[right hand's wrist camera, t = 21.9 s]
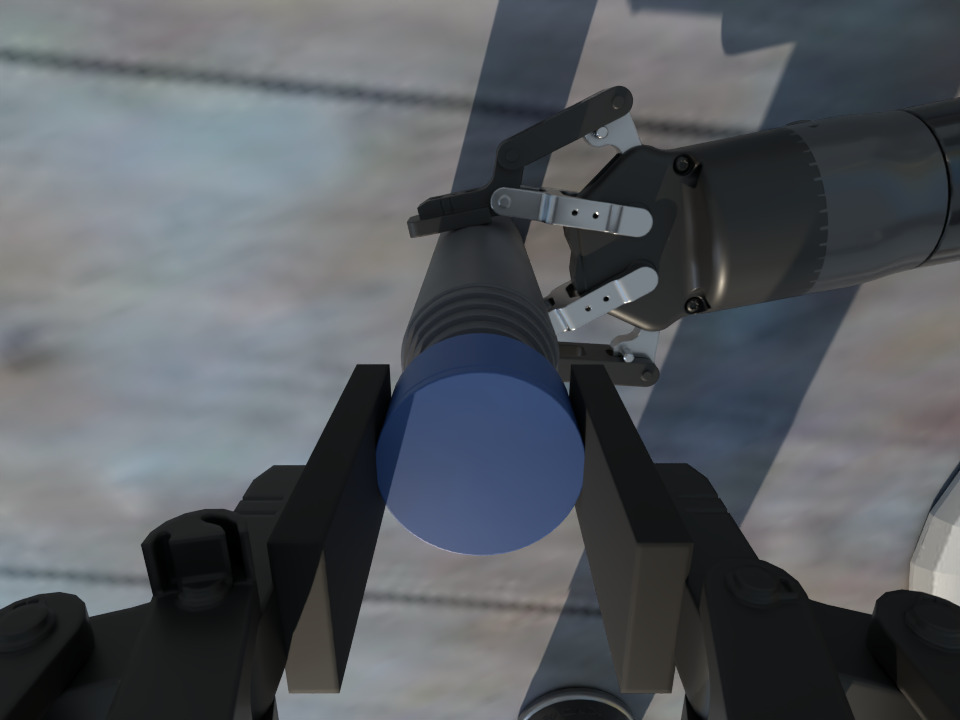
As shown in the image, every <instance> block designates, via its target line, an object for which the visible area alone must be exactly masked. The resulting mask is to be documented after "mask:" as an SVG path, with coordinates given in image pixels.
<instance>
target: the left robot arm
mask: <svg viewBox="0 0 960 720" xmlns="http://www.w3.org/2000/svg"><path fill="white" fill-rule="evenodd" d="M632 104H633V97H632V94H631V92H630V91H629V90H628V89H627V88H625V87H623V86H616V87H612V88H608V89H604V90H602V91H600V92H598V93H596V94H594V95H592V96H590V97H588V98H586V99H584V100H582V101H580V102H578V103H576V104H574V105H572V106H570V107H568V108H566V109H565V110H563V111H561V112H559V113H557V114H555V115H553V116H551V117H549V118H547V119H545V120H543V121H541V122H539V123H537V124H535V125H533V126H531V127H529V128H527V129H525V130H524V131H522V132H520V133H518V134H516V135H514V136H512V137H510V138H508V139H506V140H504V141H502V142H501V143H500V144H499V146H498V148H497V152H496V160H495V167H494V173H493V176H492V179H491V180H490V182H489V183H488V184H486V185H485V186H483V187H480V188H476V189H471V190H466V191H461V192H456V193H451V194H446V195H441V196H436V197H431V198H429V199H427V200H426V201H424V202H423V203H421V204H420V205H419V207H418V208H417V209H418V213H419V215H416V216H413V217H410V218H409V220H408V221H407V225H408V229H409V233H410V237H411V238H415V237H421V236H426V235H432V234H437V233H442V232H447V231H452V230H457V229H462V228H466V227H470V226H477V225H482V224H487V223H492V220H491V217H494V216H499V215H501V216H507V217H515V218H522V219H529V220H536V221H541V222H544V223H548V224H553V225H560V226H563V228H564V235H565V237H566V240H567V242H568V244H569V247H570V249H571V257H570V265H569V269H570V276H571V280H570V281H568V282H566V283H564V284H563V285H561V286H559V287H557V288H556V289H554V290H553V291H552V292H551V293H550V294H549V295H548V296H546V297H545V298H543V300H544V303H545V305H546V308H547V311H548V314H549V317H550V319H551V322H552V325H553V328H554V331H555V334H556V336H557V335H559V334H561V333H563V332H565V331H572V330H576V329H578V328H580V327H582V326H584V325H585V324H587V323H589V322H591V321H593V320H595V319H597V318H599V317H600V316H602V315H604V314H606V313H607V314H609V315H612V316H614V317H616V318H618V319H620V320H622V321H625V322H627V323H629V324H631V325H633V326H636V327H635V329H634V330H633V331H632V332H631V333H629V334H627V335H620V336H617V337H615V338H614V339H613V340H612V341H611V343H610V345H606V344H589V343H573V342H558V345H559V355H560V356H559V372H558V374H559V375H560V377H561V378H562V380H563V382H570V372H571V364H603V365H604V367H605V369H606V371H607V372H608V374H609V376H610V378H611V380H612V382H613V384H614V385H623V386H640V387H648V386H651V385H653V384H655V383H656V382H657V380H658V378H659V370H658V368H657V367H656V365H655V363H654V360H655V354H656V349H657V343H658V338H659V332H660V330H663V329H665V328H667V327H669V326H670V325H671V324H673V323H674V322H675V321H677V320H679V319H680V318H682V317H685V316H688V315H692V314H701V313H708V312H714V311H720V310H725V309H730V308H736V307H741V306H747V305H752V304H758V303H763V302H768V301H774V300H779V299H784V298H790V297H796V296H801V295H806V294H812V293H817V292H823V291H828V290H833V289H839V288H845V287H849V286H854V285H858V284H862V283H865V282H869V281H872V280H876V279H879V278H881V277H884V276H887V275H890V274H894V273H897V272H902V271H906V270H911V269H916V268H922V267H927V266H933V265H938V264H943V263H949V262H954V261H960V97H958V98H953V99H948V100H943V101H938V102H933V103H928V104H923V105H918V106H913V107H908V108H903V109H899V110H895V111H888V112H880V113H866V114H850V115H842V116H835V117H830V118H825V119H820V120H814V121H810V120H808V121H805V120H801V121H796V122H793V123H790V124H787V125H785V126H784V127H780V128H774V129H770V130H765V131H760V132H755V133H750V134H745V135H740V136H735V137H730V138H725V139H720V140H716V141H711V142H706V143H701V144H696V145H691V146H686V147H681V148H676V149H670V150H661V149H657V148H655V147H652V146H649V145H642V143H641V141H640V138H639V135H638V133H637V130H636V127H635V125H634V122H633V119H632V116H631V114H630V110H631V108H632ZM581 137H583V139H584V141H585V142H586V143H587V144H588V145H591V146H595V147H602V146H605V145H611V146H613V147H614V148H615V149H616V150H617V152H618V153H617V154H616V155H615V156H614V157H613V158H612V159H611V161H610V162H609V163H608V164H607V165H606V166H605V167H604V168H603V169H602V170H601V171H600V172H599V173H598V174H597V175H596V176H595V177H594V178H593V179H592V180H591V181H590V182H589V183H588V185H587V186H586V187H585V188H584V189H583V190H582V191H581V192H575V191H568V190H561V189H554V188H546V187H534V186H527V185H521V180H522V174H523V169H524V166H526V165H528V164H530V163H532V162H534V161H536V160H538V159H540V158H541V157H543V156H545V155H547V154H549V153H551V152H553V151H555V150H557V149H559V148H561V147H563V146H565V145H567V144H569V143H571V142H573V141H575V140H577V139H579V138H581ZM576 291H577V292H576ZM587 306H589V307H588V308H586V307H587ZM518 720H634V717H633V715H632V713H631V711H630V710H629V708H628V707H627V706H626V705H625V704H624V703H623V702H622V701H620V700H619V699H618V698H616V697H614V696H613V695H610V694H608V693H606V692H603V691H600V690H596V689H590V688H566V689H561V690H557V691H553V692H550V693H548V694H545V695H543V696H541V697H539V698H538V699H536V700H534V701H533V702H532V703H530V704H529V705H528V706H527V707H526V708H525V709H524V710H523V712H522V713H521V714H520V716H519V718H518Z"/></svg>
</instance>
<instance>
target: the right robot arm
mask: <svg viewBox="0 0 960 720" xmlns="http://www.w3.org/2000/svg"><path fill="white" fill-rule="evenodd" d="M569 399H570V402H571V405H572V408H573V411H574V414H575V417H576V420H577V423H578V426H579V430H580V433H581V436H582V439H583V443H584V446H585V458H584V472H583V486H582V490H581V493H580V495H579V497H578V499H577V501H576V503H575V508H576V512H577V516H578V520H579V525H580V529H581V533H582V537H583V541H584V545H585V549H586V553H587V557H588V561H589V565H590V569H591V573H592V577H593V581H594V586H595V590H596V594H597V598H598V602H599V606H600V610H601V614H602V618H603V622H604V626H605V630H606V634H607V638H608V642H609V647H610V651H611V655H612V659H613V663H614V667H615V671H616V675H617V679H618V683H619V687H620V691H621V693H672V686H673V679H674V673H675V666H676V667H677V670H678V673H679V676H680V678H681V681H682V684H683V687H684V689H685V698H684V705H683V711H682V717H681V720H960V606H958V605H956V604H954V603H952V602H950V601H948V600H947V599H944V598H941V597H938V596H934V595H931V594H928V593H925V592H920V591H911V590H902V589H901V590H896V591H891V592H885V593H884V594H883V595H882V596H881V597H880V598H879V599H877V600H876V604H875V607H874V611H873V614H872V615H871V614H866V613H862V612H858V611H853V610H849V609H844V608H840V607H835V606H831V605H827V604H823V603H820V602H816V601H813V600H810V599H809V598H808V596H807V594H806V592H805V591H804V589H803V588H802V586H801V585H800V583H799V582H798V581H797V580H796V579H794V578H793V577H792V576H791V575H789V574H788V573H787V572H786V571H784V570H783V569H781V568H779V567H777V566H774V565H772V564H770V563H768V562H766V561H763V560H759V559H758V557H757V556H756V554H755V552H754V551H753V549H752V548H751V546H750V545H749V543H748V541H747V540H746V538H745V537H744V535H743V534H742V532H741V530H740V529H739V527H738V526H737V524H736V523H735V521H734V519H733V518H732V516H731V515H730V513H727V508H726V507H725V505H724V504H723V502H722V501H721V499H720V498H718V494H717V493H716V491H715V490H714V488H713V486H712V485H711V483H710V482H709V480H708V479H707V478H706V477H705V476H704V475H702V474H701V473H700V472H698V471H697V470H695V469H694V468H693V467H691V466H690V465H688V464H687V463H653V461H652V459H651V457H650V455H649V453H648V451H647V449H646V447H645V446H644V444H643V442H642V440H641V438H640V436H639V434H638V432H637V430H636V428H635V426H634V424H633V422H632V420H631V418H630V416H629V414H628V412H627V410H626V408H625V406H624V404H623V402H622V400H621V398H620V396H619V394H618V392H617V390H616V388H615V386H614V384H613V382H612V380H611V378H610V376H609V374H608V372H607V371H606V369H605V367H604V365H603V364H571V372H570V390H569ZM390 401H391V383H390V365H389V364H357V365H356V367H355V369H354V371H353V373H352V375H351V377H350V379H349V381H348V383H347V385H346V387H345V389H344V391H343V393H342V395H341V397H340V399H339V401H338V403H337V405H336V407H335V409H334V411H333V413H332V415H331V417H330V419H329V421H328V423H327V425H326V427H325V429H324V431H323V433H322V434H321V436H320V438H319V440H318V442H317V444H316V446H315V448H314V450H313V452H312V454H311V456H310V458H309V460H308V462H307V464H306V465H273V466H272V467H271V468H269V469H268V470H267V471H265V472H264V473H262V474H261V475H260V476H258V477H257V478H256V479H254V480H253V482H252V483H251V485H250V486H249V488H248V490H247V491H246V493H245V494H244V496H243V500H241V501H240V502H239V504H238V505H237V507H236V509H235V510H234V512H233V511H229V510H226V509H203V510H199V511H194V512H190V513H185V514H183V515H180V516H178V517H175V518H173V519H171V520H168V521H166V522H165V523H163V524H162V525H160V526H159V527H157V528H156V529H154V530H153V531H152V532H150V534H149V535H148V536H147V537H146V539H145V540H144V541H143V543H142V544H141V547H142V551H143V555H144V560H145V564H146V568H147V572H148V576H149V581H150V585H151V589H152V593H153V597H152V600H151V602H149V603H146V604H142V605H139V606H136V607H132V608H128V609H123V610H119V611H114V612H110V613H105V614H101V615H96V616H92V617H89V616H88V612H87V609H86V605H85V603H84V602H83V601H82V600H81V599H80V598H79V597H77V596H76V595H73V594H68V593H62V592H55V593H46V594H38V595H35V596H32V597H29V598H25V599H22V600H19V601H16V602H14V603H12V604H10V605H8V606H6V607H4V608H2V609H0V720H279V718H278V711H277V705H276V698H275V694H276V691H277V688H278V685H279V682H280V680H281V677H282V674H283V671H284V668H285V670H286V677H287V683H288V690H289V693H340V689H341V685H342V681H343V677H344V673H345V668H346V664H347V660H348V656H349V652H350V648H351V644H352V640H353V636H354V632H355V628H356V624H357V620H358V616H359V612H360V607H361V603H362V599H363V595H364V591H365V587H366V583H367V579H368V575H369V571H370V567H371V563H372V559H373V555H374V550H375V546H376V542H377V538H378V534H379V530H380V526H381V522H382V518H383V514H384V510H385V506H386V504H385V502H384V500H383V498H382V496H381V493H380V491H379V488H378V481H377V466H376V445H377V441H378V438H379V435H380V432H381V429H382V425H383V422H384V419H385V416H386V413H387V410H388V407H389V404H390Z"/></svg>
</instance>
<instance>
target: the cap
mask: <svg viewBox="0 0 960 720" xmlns="http://www.w3.org/2000/svg"><path fill="white" fill-rule="evenodd" d="M584 458H585V446H584V443H583V439H582V436H581V433H580V430H579V426H578V423H577V420H576V417H575V414H574V411H573V408H572V405H571V402H570V399H569V395H568V392H567V389H566V387H565V385H564V383H563V380H562V378H561V377H560V375H559V374H558V372H557V371H556V369H555V368H554V367H553V366H552V364H551V363H550V362H549V361H548V360H547V359H546V358H545V357H544V356H542V355H541V354H540V353H539V352H537V351H536V350H534V349H533V348H532V347H530V346H528V345H526V344H524V343H522V342H520V341H518V340H515V339H512V338H509V337H506V336H501V335H496V334H487V333H474V334H465V335H459V336H455V337H452V338H448V339H445V340H443V341H441V342H439V343H436V344H434V345H433V346H431V347H429V348H428V349H426V350H424V351H423V352H422V353H421V354H419V355H418V356H417V357H416V358H415V359H414V360H413V361H412V362H411V363H410V364H409V365H408V366H407V367H406V369H405V370H404V372H403V373H402V374H401V376H400V378H399V380H398V382H397V384H396V386H395V389H394V392H393V394H392V398H391V401H390V404H389V407H388V410H387V413H386V416H385V419H384V422H383V425H382V429H381V432H380V435H379V438H378V441H377V445H376V466H377V481H378V488H379V491H380V493H381V496H382V498H383V500H384V502H385V504H386V505H387V507H388V509H389V510H390V512H391V513H392V514H393V516H394V517H395V518H396V519H397V521H398V522H399V523H400V524H401V525H402V526H404V527H405V528H406V529H407V530H408V531H409V532H411V533H412V534H413V535H415V536H416V537H417V538H419V539H421V540H423V541H424V542H426V543H428V544H430V545H433V546H435V547H437V548H440V549H443V550H446V551H450V552H453V553H459V554H464V555H477V556H481V555H496V554H503V553H507V552H511V551H515V550H518V549H521V548H523V547H526V546H528V545H530V544H532V543H534V542H536V541H538V540H540V539H541V538H543V537H544V536H546V535H547V534H549V533H550V532H551V531H553V530H554V529H555V528H556V527H557V526H558V525H559V524H560V523H561V522H562V521H563V520H564V519H565V518H566V517H567V516H568V514H569V513H570V511H571V510H572V508H573V507H574V505H575V503H576V501H577V499H578V497H579V495H580V493H581V490H582V486H583V472H584Z"/></svg>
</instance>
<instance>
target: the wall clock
mask: <svg viewBox="0 0 960 720" xmlns="http://www.w3.org/2000/svg"><path fill="white" fill-rule="evenodd" d="M909 590H911V591H920V592H925V593H928V594H931V595H934V596H938V597H941V598H944V599H947V600H948V601H950V602H952V603H954V604H956V605H958V606H960V471H959V472H958V474H957V475H956V477H955V478H954V479H953V481H952V482H951V484H950V485H949V486H948V488H947V489H946V491H945V492H944V493H943V495H942V496H941V498H940V499H939V500H938V502H937V503H936V504H935V506H934V507H933V509H932V510H931V511H930V513H929V515H928V518H927V521H926V523H925V526H924V528H923V531H922V533H921V536H920V538H919V541H918V544H917V546H916V549H915V551H914V554H913V556H912V559H911V563H910V578H909Z"/></svg>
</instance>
